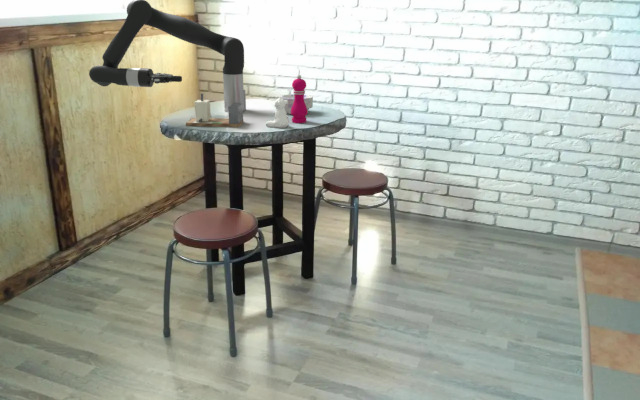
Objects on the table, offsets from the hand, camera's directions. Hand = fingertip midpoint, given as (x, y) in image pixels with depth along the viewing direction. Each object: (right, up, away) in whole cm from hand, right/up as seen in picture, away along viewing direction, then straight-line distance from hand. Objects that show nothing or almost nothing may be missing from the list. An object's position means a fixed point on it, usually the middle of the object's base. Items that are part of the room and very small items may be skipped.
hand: (181, 78), depth 223 cm
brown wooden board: (+13, -18, +6) cm, 23 cm away
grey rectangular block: (+22, -17, +5) cm, 28 cm away
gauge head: (+8, -17, +4) cm, 19 cm away
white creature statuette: (+41, -19, +3) cm, 45 cm away
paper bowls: (+46, -9, +31) cm, 56 cm away
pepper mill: (+48, -16, +12) cm, 52 cm away
